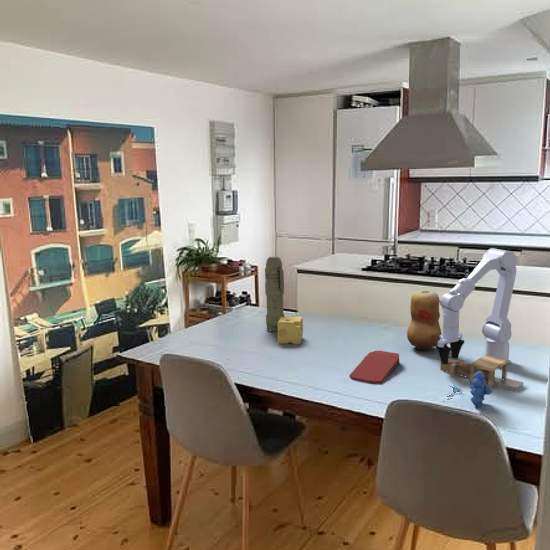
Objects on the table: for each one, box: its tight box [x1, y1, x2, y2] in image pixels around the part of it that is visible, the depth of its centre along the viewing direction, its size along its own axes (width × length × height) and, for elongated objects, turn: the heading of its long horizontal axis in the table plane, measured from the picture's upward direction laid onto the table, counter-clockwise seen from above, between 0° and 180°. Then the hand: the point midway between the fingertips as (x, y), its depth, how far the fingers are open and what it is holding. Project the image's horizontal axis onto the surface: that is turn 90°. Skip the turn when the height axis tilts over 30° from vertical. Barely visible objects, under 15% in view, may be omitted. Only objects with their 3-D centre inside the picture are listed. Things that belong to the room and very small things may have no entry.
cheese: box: [277, 316, 304, 345], centre depth 240 cm, size 10×11×10 cm
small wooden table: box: [469, 355, 509, 389], centre depth 189 cm, size 12×8×7 cm, turn 134°
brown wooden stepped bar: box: [440, 358, 496, 383], centre depth 194 cm, size 8×19×4 cm, turn 43°
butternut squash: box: [406, 289, 442, 351], centre depth 222 cm, size 14×13×25 cm
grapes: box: [469, 371, 494, 408], centre depth 167 cm, size 12×7×12 cm, turn 150°
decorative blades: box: [447, 383, 462, 400], centre depth 179 cm, size 20×1×10 cm
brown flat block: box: [498, 377, 524, 393], centre depth 183 cm, size 6×6×2 cm
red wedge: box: [349, 350, 400, 385], centre depth 201 cm, size 12×5×25 cm
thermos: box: [264, 256, 286, 332], centre depth 256 cm, size 9×12×35 cm
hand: (449, 361), depth 199 cm, fingers open, 7 cm apart
